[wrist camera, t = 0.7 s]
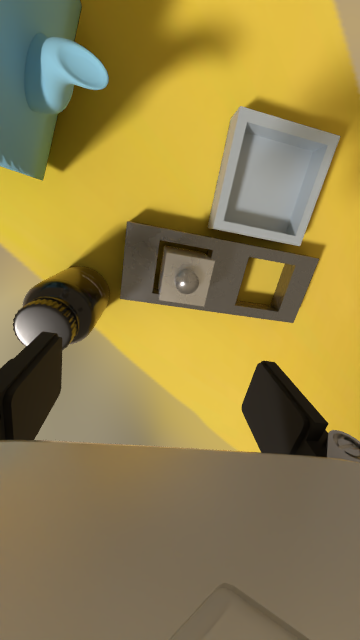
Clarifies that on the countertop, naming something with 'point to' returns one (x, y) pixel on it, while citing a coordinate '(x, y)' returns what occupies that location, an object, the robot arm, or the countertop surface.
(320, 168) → the parts tray
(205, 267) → the beige block with knob
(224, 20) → the countertop surface
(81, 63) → the teakettle
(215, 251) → the rail
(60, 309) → the supplement bottle
